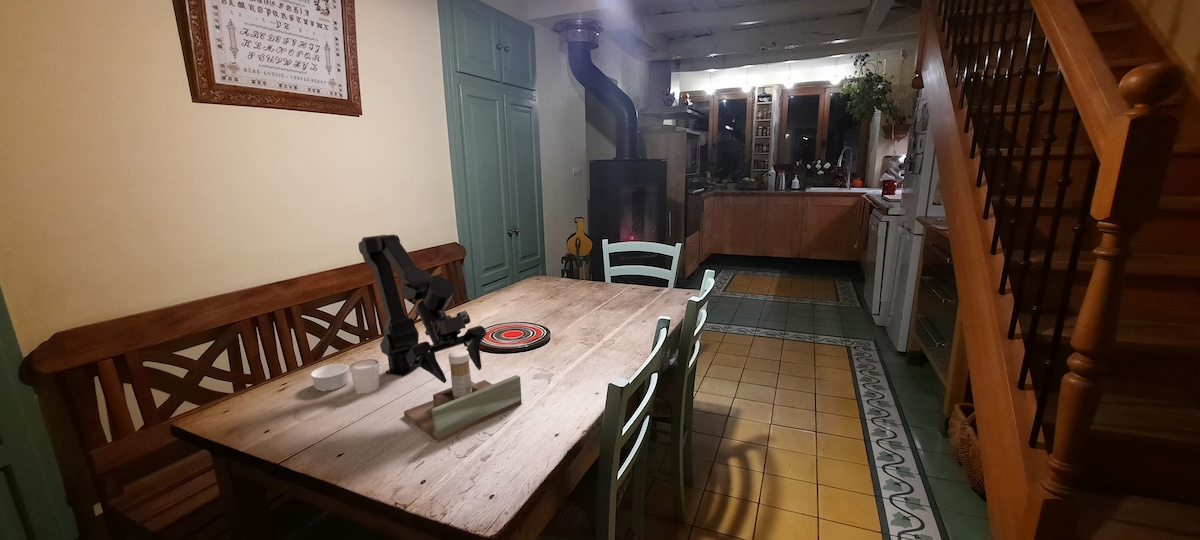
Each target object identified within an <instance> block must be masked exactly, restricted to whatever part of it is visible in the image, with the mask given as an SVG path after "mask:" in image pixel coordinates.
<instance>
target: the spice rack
mask: <svg viewBox="0 0 1200 540" xmlns="http://www.w3.org/2000/svg"><path fill="white" fill-rule="evenodd" d="M471 385H472V393H470V394H468V395H465V396H463V397H460V398H458V399H455V400H454V397H453V390H452V386H451V387H449V388H447V389H446V388H445V389H444V390H441V391H439V392H435V393H434V394H432V399H431V400H429V401H427V402H425V403H422V404H420V405H417V406H414V407H412V408H409V409H406V410H403V415H404V417H405V418H407V420H409V421H410V422H411V423H413V424H415V425H416V426H417V427H418V428H419V429H421V430H422V431H423V432H424V433H425V434H427V435H428V436H429V437H431V438H432V439H434V441H436V442H438V443H440V442H443V441H444V440H447V439H449V438H451V437H453V436H455V435H457V434H460V433H462V432H464V431H466V430H468V429H470V428H472V427H475V426H477V425H478V424H479V425H480V424H481V423H484V422H486V421H488V420H489V419H492V418H494V417H496V416H497V417H498V416H499V415H501V414H503V413H505V412H508V411H510V410H512V409H514V408H517V407H519V406H521V405H523V403H522V402H523V401H522V388H521V387H522V385H521V376H520V375H517V374H515V375H513V376H510V377H508V378H505V379H502V380H501V381H498V382H496V383H491V382H489V381H487V380H486V379H483V380H481V381H478V382H476V383H475V382H473V381H472V380H471Z"/></svg>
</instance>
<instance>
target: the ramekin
mask: <svg viewBox="0 0 1200 540" xmlns="http://www.w3.org/2000/svg"><path fill="white" fill-rule="evenodd" d="M349 369H350V366H349V365H346V364H344V363H333V364H327V365H324V366H320V367H317V368H316V369H314V370H312V372H311V373H310V377H311V379H312V381H313V386H314V389H315V390H316V389H317V390H316V391H318V390H322V391H321V392H324V391H323V390H332V391H334V390H333V389H336V390H338V389H337V388H339V387H341V388H343V387H344V385H345V384H346V385H347V384H348V383H349ZM346 385H345V386H346ZM342 386H343V387H342ZM339 389H340V388H339Z"/></svg>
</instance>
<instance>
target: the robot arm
mask: <svg viewBox="0 0 1200 540" xmlns="http://www.w3.org/2000/svg"><path fill="white" fill-rule="evenodd" d="M358 250H359V253H360V254H361V255H362V258H363V261H364V263H366V265H368V266H369V267H370V268H371V269H372V270H373V274H374V278H375V281H376V285H377V288H378V291H379V295H380V299H381V303H382V306H383V310H384V314H385V317H386V318H385V319H386V321H385V324H384V326H383V329H382V330H383V338H382V340H381V342H380V344H379V348H380V350H381V353H382V354H384V355H385V356H387V362H388V369H386V370H385V374H388V375H395V376H400V377H403V376H406V375H408V374H409V373H411V372H413V371H414V370H416V369H418V368H421V369H423V370H425V371H426V372H428V373H430V374H431V375H432V376H434V377H435V378H436V379H438V380H439V381H440V382H442V383H443V384H445V383H446V382H447V378H446V376H445V373H444V371H443V370H442V368H441V366H440V364H439V362H438V360H437V358H436V353H438V352H441V351H445V350H448V349H451V348H454V347H457V346H460V345H463V346H464V347H467V348H466V349H465V350H467V351H468V352H469V359H470V360H471V361H472V363H473V365H474V366H475V367H476V369H477V371H481V369H482V368H483V367H482V360H481V353H480V351H481V349H480V348H481V343H482V341H483V340H484V338H485V337H486V336H487V334H488V332H487V330H486V328H485V327H484V326H482V325H477V326H472V327H470V328H468V329H467V330H466V331H465V333H464V334H463V335H461V336H458V335H460V334H461V332H462V331H461V330H464V329H466V327H467V326H466V325H468V324H470V323H471V319H470V318H471V317H470V315H469V313H468V312H467V311H466V310H461V311H459V312H458V313H456V316H453V317H452V316H451V315H449V314H448V315H447V313H446V311H445V309H446V308H447V307H448V305H449V303H450V302H451V300H452V298H453V296H454V294H455V292H456V286H455V284H454V283H453V282H451V281H450V280H449V279H447V278H444V277H442V276H441V274H434V275H430V273H429V272H428V271H427V270H424V269H422V268H419V267H418V266H417V264H415V262H414V260H413V258H411V256H410V254H409V253H408V251H407V250H406V249H405V248H404V246H403V245H402V243H401V240H400V237H399V235H396V234H381V235H380V234H379V235H373V236H365V237H362V238H361V240H360V241H359V242H358ZM393 269H394V270H393ZM394 271H395V272H396V274H397V275H398V277H399V278H400V280H401V282H400V283H401V286H400V290H401V293H402V296H403V297H404V299H405V300H407V301H408V302H409V303H414V302H417V301H419V302H418V304H416V309H415V316H416V317H418V316H419V318H420V320H421V322H422V324H423V326H424V328H425V331H424V333H425V335H426V336H429V337H430V340H431V342H432V344H430V342H428V341H422V342H419V337H420V335H419V334H420V333H419V331H418V328H417V327H416V324H415V320H414V319H413V318H412V317H411V318H410V317H409V316H407V314H406V313H405V311H404V307H403V304H402V303H403V302H402V299H401V296H400V292H399V288H398V284H397V282H396V278H395V274H394Z"/></svg>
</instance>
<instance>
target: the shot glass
mask: <svg viewBox="0 0 1200 540" xmlns="http://www.w3.org/2000/svg"><path fill="white" fill-rule="evenodd" d="M379 366H380V363H379V360H377V359H373V358H367V359H363V360H359V361H358V360H357V361H355V362H353V363H351V364H350V365H349V370H350V371H349V372H350V374H351V378H352V383H353V387H354V390H356V391H355V393H356V392H358V393H357V394H359V393H366V394H369V393H368V392H371V393H373V392H376V391H377V390H378V389H379V387H380V367H379ZM375 390H376V391H375ZM372 391H373V392H372Z"/></svg>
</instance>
